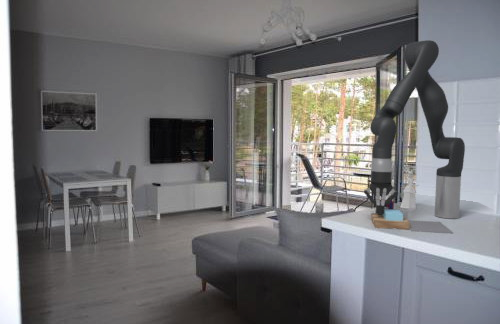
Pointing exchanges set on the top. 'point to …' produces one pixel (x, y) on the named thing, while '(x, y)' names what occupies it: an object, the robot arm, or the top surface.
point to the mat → (428, 226)
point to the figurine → (409, 193)
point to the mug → (389, 205)
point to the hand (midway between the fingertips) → (379, 214)
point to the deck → (389, 222)
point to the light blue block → (393, 215)
